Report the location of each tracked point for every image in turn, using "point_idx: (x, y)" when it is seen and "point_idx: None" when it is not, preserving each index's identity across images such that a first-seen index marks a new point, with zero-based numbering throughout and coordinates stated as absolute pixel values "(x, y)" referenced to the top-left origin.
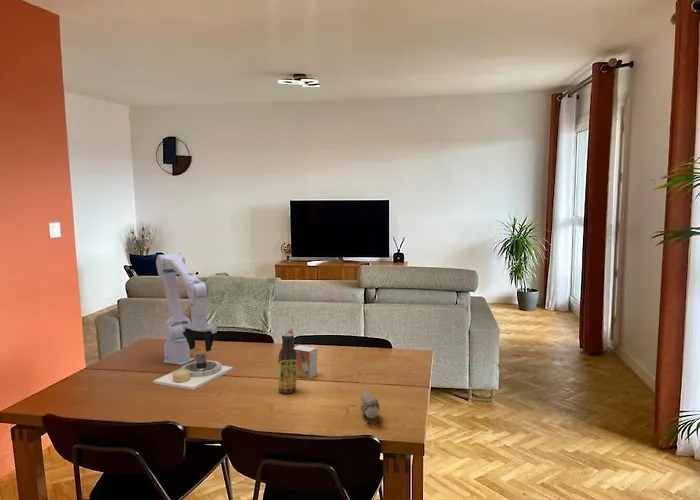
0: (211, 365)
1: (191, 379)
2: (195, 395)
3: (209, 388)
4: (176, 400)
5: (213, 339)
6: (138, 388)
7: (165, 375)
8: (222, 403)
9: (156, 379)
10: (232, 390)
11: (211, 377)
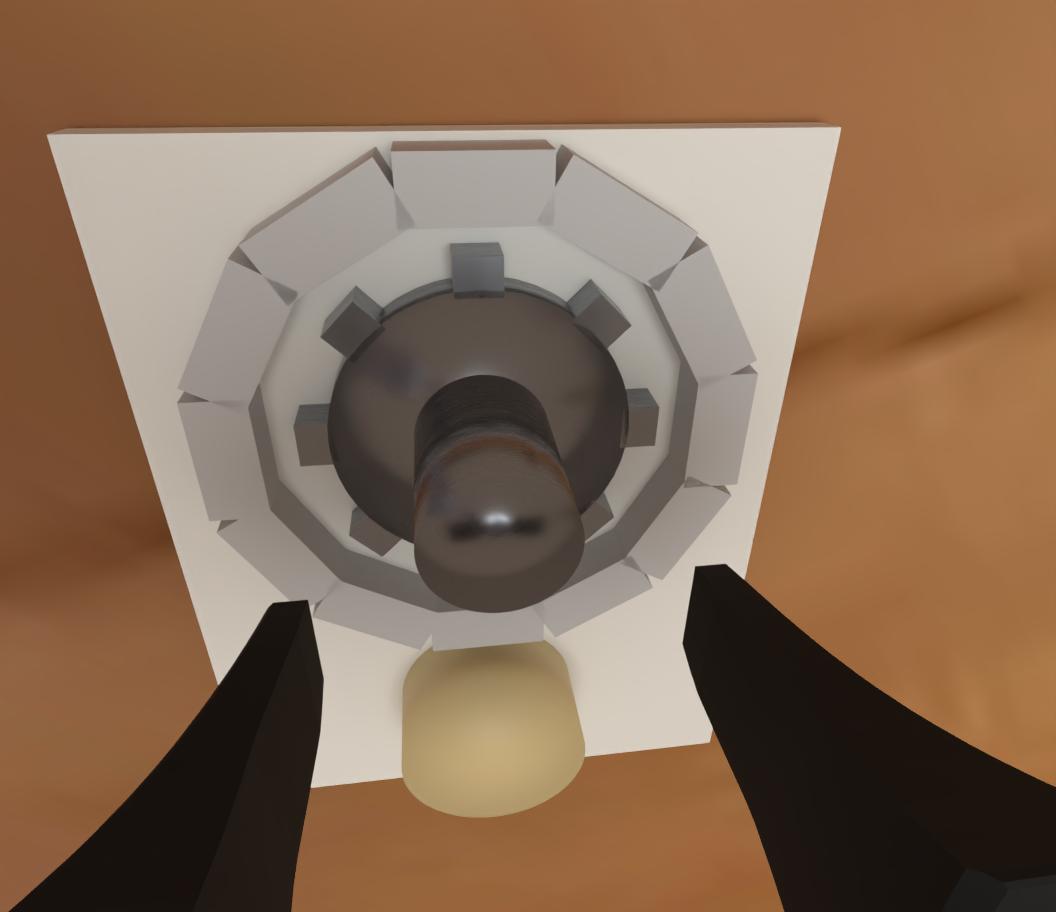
0: (574, 329)
1: (574, 650)
2: None
3: None
4: (689, 847)
5: (912, 722)
6: None
7: None
8: (1010, 764)
9: None
10: (1020, 608)
11: (743, 541)
